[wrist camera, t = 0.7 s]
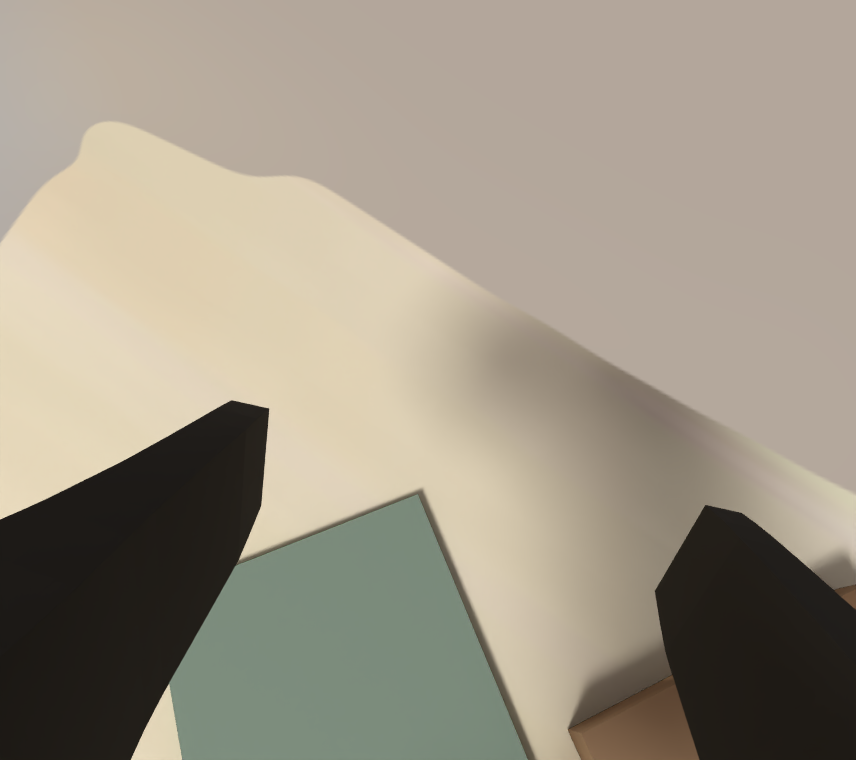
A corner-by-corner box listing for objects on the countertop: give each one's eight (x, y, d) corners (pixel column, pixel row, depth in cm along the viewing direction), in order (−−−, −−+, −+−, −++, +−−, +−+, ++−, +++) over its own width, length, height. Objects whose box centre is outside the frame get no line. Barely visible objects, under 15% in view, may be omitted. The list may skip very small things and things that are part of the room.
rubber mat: (535, 781, 21) (537, 783, 21) (220, 950, 19) (216, 957, 18) (417, 497, 26) (417, 494, 26) (159, 599, 24) (154, 597, 23)
